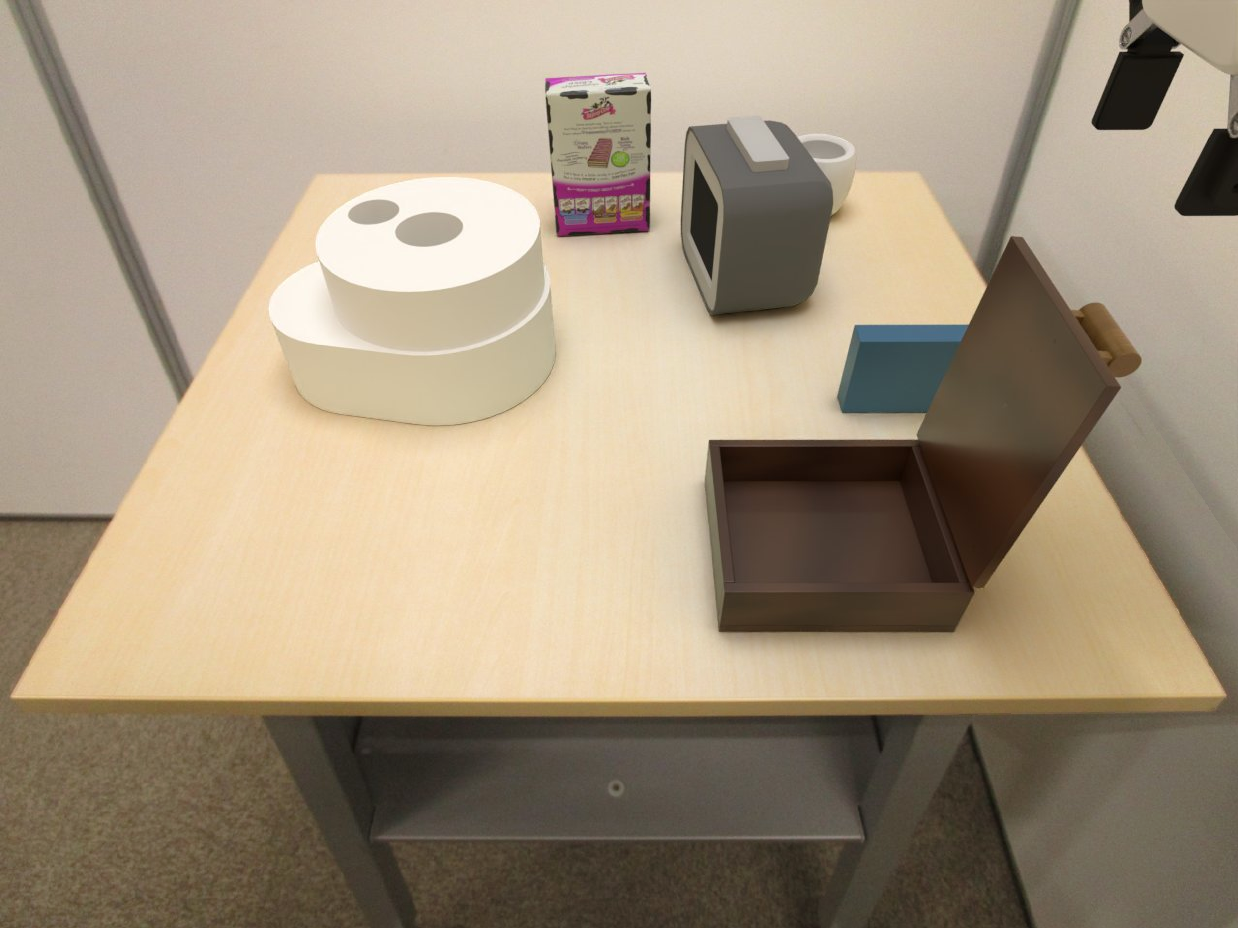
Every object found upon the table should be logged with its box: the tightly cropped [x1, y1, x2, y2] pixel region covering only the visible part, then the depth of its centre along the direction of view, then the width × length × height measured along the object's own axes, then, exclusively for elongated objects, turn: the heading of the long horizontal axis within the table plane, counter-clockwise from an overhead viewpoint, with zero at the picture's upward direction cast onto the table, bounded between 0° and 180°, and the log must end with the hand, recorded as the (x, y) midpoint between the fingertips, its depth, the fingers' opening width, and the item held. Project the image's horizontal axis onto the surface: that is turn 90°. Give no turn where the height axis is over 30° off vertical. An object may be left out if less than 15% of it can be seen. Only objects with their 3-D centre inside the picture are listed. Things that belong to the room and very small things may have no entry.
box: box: [704, 439, 976, 633], centre depth 61 cm, size 17×15×5 cm
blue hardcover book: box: [836, 324, 969, 414], centre depth 71 cm, size 12×2×8 cm, turn 90°
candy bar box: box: [544, 72, 652, 237], centre depth 91 cm, size 11×5×16 cm, turn 95°
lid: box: [916, 235, 1142, 589], centre depth 52 cm, size 17×15×5 cm
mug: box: [797, 133, 857, 217], centre depth 95 cm, size 12×8×8 cm
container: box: [268, 176, 557, 427], centre depth 74 cm, size 20×25×14 cm
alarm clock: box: [680, 115, 833, 316], centre depth 83 cm, size 16×11×16 cm
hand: (1159, 167), depth 42 cm, fingers open, 9 cm apart
